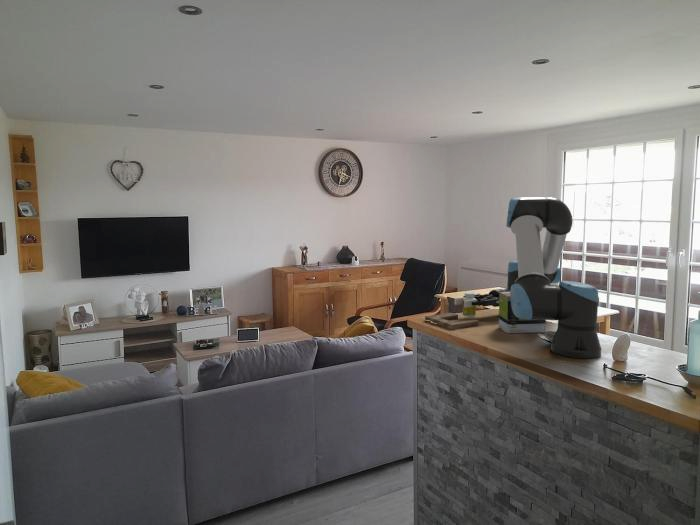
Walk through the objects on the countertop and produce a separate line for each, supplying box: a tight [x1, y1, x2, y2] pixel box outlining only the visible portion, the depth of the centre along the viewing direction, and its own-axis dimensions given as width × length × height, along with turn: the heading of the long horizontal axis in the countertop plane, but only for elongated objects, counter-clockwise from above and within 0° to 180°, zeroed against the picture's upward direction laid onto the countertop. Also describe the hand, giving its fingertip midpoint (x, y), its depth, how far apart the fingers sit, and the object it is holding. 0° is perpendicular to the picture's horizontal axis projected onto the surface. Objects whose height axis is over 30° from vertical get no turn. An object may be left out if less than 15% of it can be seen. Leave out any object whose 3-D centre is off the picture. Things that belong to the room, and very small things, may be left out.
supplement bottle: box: [462, 291, 477, 318], centre depth 208 cm, size 5×5×10 cm
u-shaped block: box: [424, 312, 479, 331], centre depth 203 cm, size 17×14×2 cm
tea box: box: [498, 292, 546, 334], centre depth 191 cm, size 15×10×15 cm
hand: (460, 302), depth 205 cm, fingers closed on supplement bottle, 5 cm apart
